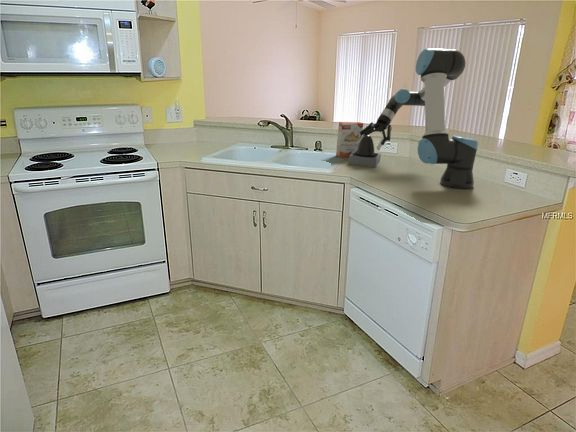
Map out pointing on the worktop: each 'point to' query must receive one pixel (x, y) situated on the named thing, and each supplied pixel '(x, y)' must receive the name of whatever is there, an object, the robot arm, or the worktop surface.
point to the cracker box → (348, 138)
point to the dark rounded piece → (366, 147)
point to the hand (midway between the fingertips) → (367, 146)
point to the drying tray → (364, 160)
